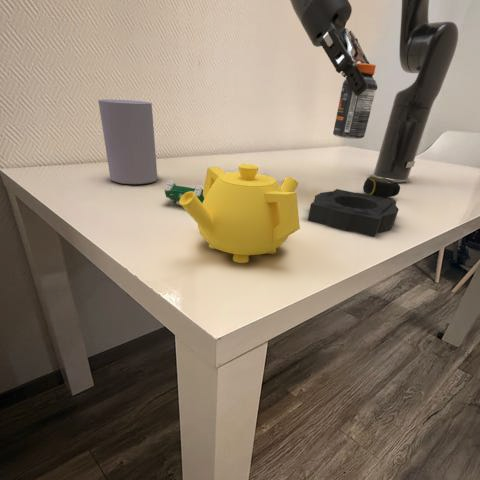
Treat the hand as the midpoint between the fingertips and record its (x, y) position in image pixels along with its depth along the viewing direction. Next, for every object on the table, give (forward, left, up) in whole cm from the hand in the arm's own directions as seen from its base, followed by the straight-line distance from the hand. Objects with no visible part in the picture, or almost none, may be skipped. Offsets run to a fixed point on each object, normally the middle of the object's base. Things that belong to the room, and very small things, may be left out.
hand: (367, 92), depth 59 cm
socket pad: (+9, +5, -20) cm, 22 cm away
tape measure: (-12, +5, -20) cm, 24 cm away
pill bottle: (0, -2, -7) cm, 8 cm away
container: (+18, -43, -20) cm, 51 cm away
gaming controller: (+24, -22, -20) cm, 38 cm away
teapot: (+34, -4, -20) cm, 39 cm away
